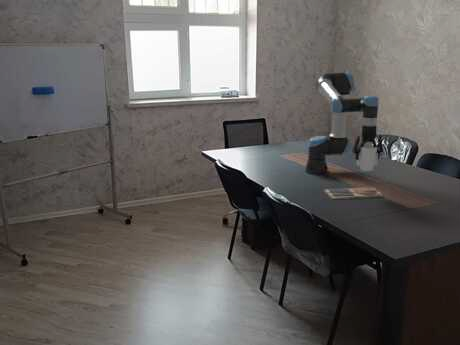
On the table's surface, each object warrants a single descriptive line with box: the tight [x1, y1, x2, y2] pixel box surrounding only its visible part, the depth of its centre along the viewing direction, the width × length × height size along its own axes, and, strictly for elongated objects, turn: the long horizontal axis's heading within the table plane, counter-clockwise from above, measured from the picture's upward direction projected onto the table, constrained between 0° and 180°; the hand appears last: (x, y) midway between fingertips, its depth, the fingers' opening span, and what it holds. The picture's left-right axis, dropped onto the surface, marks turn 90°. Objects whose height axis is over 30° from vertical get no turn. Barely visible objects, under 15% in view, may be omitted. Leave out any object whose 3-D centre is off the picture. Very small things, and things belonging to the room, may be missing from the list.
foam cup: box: [359, 144, 377, 172], centre depth 240 cm, size 10×9×13 cm
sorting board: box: [323, 186, 384, 200], centre depth 245 cm, size 15×29×1 cm, turn 94°
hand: (366, 165), depth 241 cm, fingers closed on foam cup, 9 cm apart
